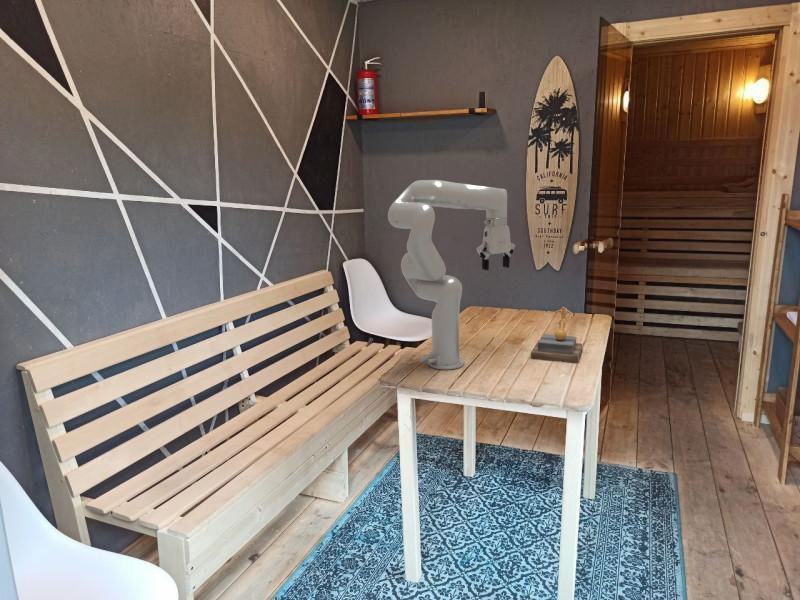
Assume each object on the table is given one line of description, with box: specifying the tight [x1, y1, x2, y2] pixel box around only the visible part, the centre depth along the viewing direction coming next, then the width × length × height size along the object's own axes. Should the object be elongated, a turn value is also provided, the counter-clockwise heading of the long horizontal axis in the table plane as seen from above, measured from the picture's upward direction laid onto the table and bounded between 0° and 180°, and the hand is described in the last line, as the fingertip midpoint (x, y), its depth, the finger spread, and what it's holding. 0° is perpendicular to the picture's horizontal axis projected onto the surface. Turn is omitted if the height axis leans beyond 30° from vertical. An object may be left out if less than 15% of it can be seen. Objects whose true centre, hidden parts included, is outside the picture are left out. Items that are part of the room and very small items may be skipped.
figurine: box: [550, 306, 575, 340], centre depth 203 cm, size 8×6×12 cm
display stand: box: [530, 333, 583, 364], centre depth 205 cm, size 16×16×6 cm
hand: (495, 268), depth 211 cm, fingers open, 9 cm apart
